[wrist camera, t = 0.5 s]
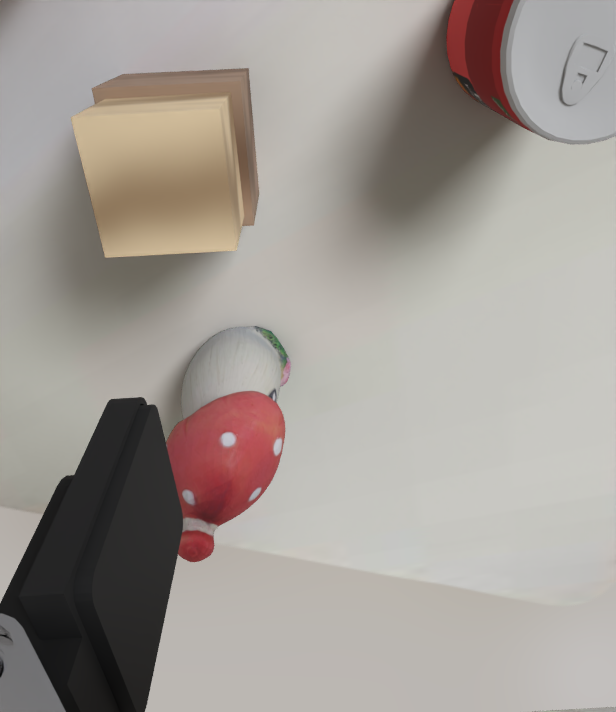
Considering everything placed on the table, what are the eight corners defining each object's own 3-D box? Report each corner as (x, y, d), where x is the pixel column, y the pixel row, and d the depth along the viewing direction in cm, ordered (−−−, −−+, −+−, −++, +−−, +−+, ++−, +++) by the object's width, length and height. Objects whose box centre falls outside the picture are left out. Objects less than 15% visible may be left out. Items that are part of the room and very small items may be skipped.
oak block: (104, 99, 28) (70, 117, 23) (230, 91, 28) (219, 109, 23) (131, 221, 31) (105, 257, 26) (244, 215, 31) (236, 250, 26)
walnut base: (123, 74, 32) (91, 88, 27) (248, 68, 32) (240, 81, 27) (146, 198, 36) (122, 231, 31) (259, 193, 36) (253, 225, 31)
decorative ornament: (226, 424, 45) (200, 591, 33) (160, 374, 43) (104, 534, 30) (313, 353, 42) (322, 507, 29) (247, 294, 40) (226, 435, 27)
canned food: (433, 104, 34) (488, 145, 24) (454, -66, 29) (530, -96, 20) (563, 107, 34) (668, 148, 24) (603, -62, 30) (747, -90, 20)
